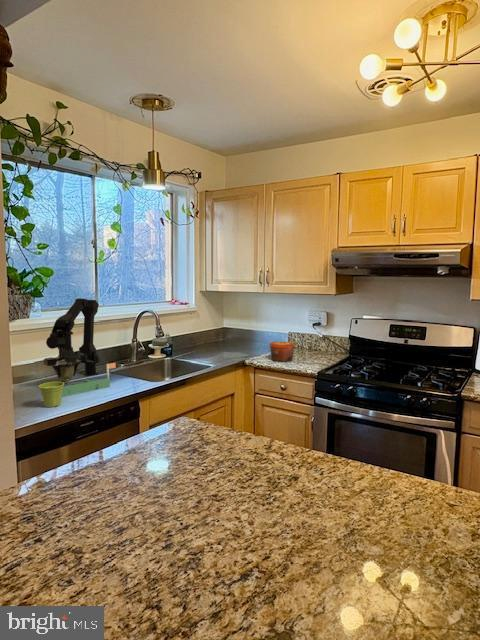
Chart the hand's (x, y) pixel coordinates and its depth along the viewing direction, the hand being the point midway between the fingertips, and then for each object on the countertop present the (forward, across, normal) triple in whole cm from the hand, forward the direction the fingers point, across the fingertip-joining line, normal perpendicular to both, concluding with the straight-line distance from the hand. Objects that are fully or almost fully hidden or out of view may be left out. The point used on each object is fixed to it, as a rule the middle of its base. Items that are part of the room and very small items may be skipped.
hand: (66, 376), depth 200 cm
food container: (+4, +119, -36) cm, 124 cm away
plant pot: (+4, -17, -27) cm, 32 cm away
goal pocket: (+4, +2, -12) cm, 12 cm away
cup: (+2, 0, 0) cm, 2 cm away
